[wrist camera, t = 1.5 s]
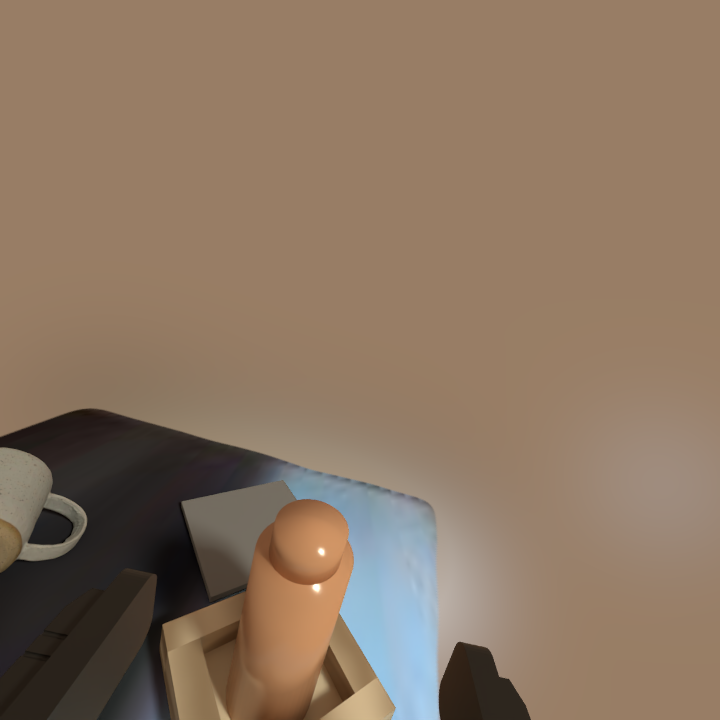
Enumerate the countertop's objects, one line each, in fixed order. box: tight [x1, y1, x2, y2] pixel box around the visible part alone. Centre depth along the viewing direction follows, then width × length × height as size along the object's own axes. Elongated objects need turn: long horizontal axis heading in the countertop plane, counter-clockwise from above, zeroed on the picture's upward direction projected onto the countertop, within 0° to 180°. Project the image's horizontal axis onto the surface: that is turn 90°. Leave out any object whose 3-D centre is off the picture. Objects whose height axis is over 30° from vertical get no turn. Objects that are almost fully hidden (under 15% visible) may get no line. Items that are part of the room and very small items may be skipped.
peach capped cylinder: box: [226, 499, 354, 720], centre depth 23 cm, size 7×6×14 cm
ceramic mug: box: [0, 448, 87, 573], centre depth 28 cm, size 11×8×8 cm
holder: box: [159, 591, 395, 720], centre depth 24 cm, size 12×12×2 cm
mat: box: [181, 480, 297, 602], centre depth 37 cm, size 12×12×1 cm
